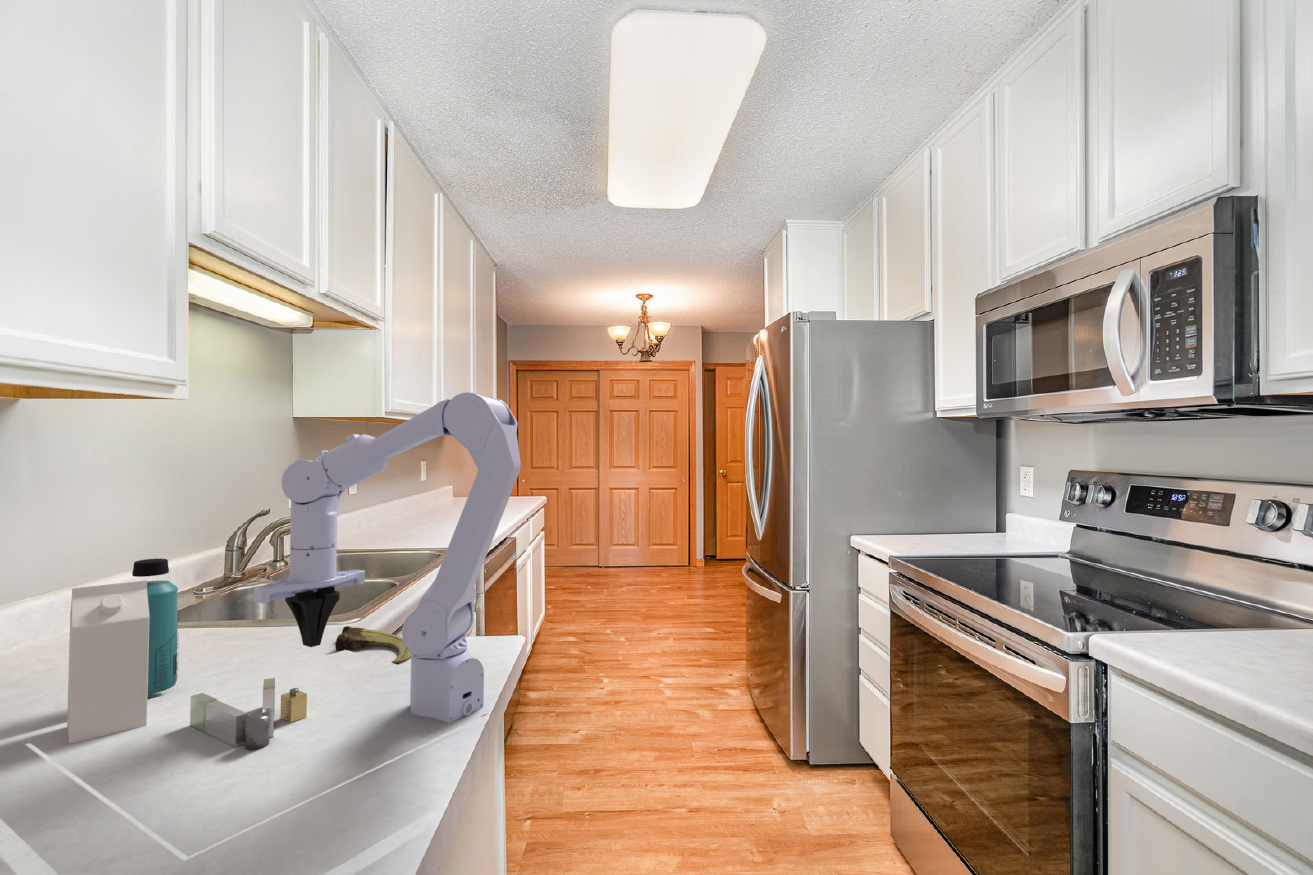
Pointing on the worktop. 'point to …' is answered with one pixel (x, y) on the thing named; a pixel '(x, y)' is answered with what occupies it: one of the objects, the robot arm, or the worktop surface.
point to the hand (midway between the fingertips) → (311, 645)
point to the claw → (371, 641)
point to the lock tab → (293, 705)
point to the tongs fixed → (229, 722)
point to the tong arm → (269, 701)
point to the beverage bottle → (160, 625)
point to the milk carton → (108, 660)
